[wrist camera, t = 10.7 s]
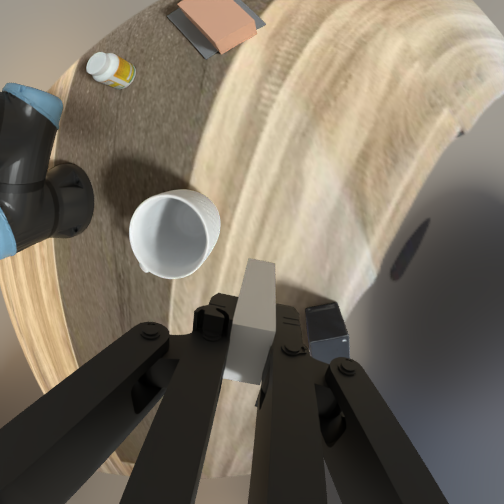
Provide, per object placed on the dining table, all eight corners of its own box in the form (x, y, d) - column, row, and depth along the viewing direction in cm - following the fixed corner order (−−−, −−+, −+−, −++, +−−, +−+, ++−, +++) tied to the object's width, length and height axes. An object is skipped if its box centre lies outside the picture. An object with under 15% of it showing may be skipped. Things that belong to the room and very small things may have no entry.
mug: (184, 275, 48) (156, 311, 36) (141, 233, 46) (101, 256, 34) (242, 218, 44) (228, 239, 32) (194, 171, 42) (162, 174, 30)
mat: (265, 24, 33) (265, 23, 33) (206, 59, 36) (205, 58, 35) (221, -16, 30) (221, -17, 30) (167, 16, 33) (166, 16, 32)
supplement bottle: (118, 95, 38) (87, 84, 29) (109, 76, 37) (79, 64, 28) (141, 77, 37) (113, 62, 28) (130, 58, 36) (103, 42, 27)
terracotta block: (254, 20, 29) (213, -17, 26) (215, 42, 30) (177, 3, 28) (256, 34, 33) (218, -3, 31) (221, 54, 35) (185, 16, 33)
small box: (302, 307, 48) (308, 342, 38) (337, 300, 47) (350, 333, 37) (309, 351, 51) (314, 388, 41) (341, 345, 50) (351, 380, 40)
